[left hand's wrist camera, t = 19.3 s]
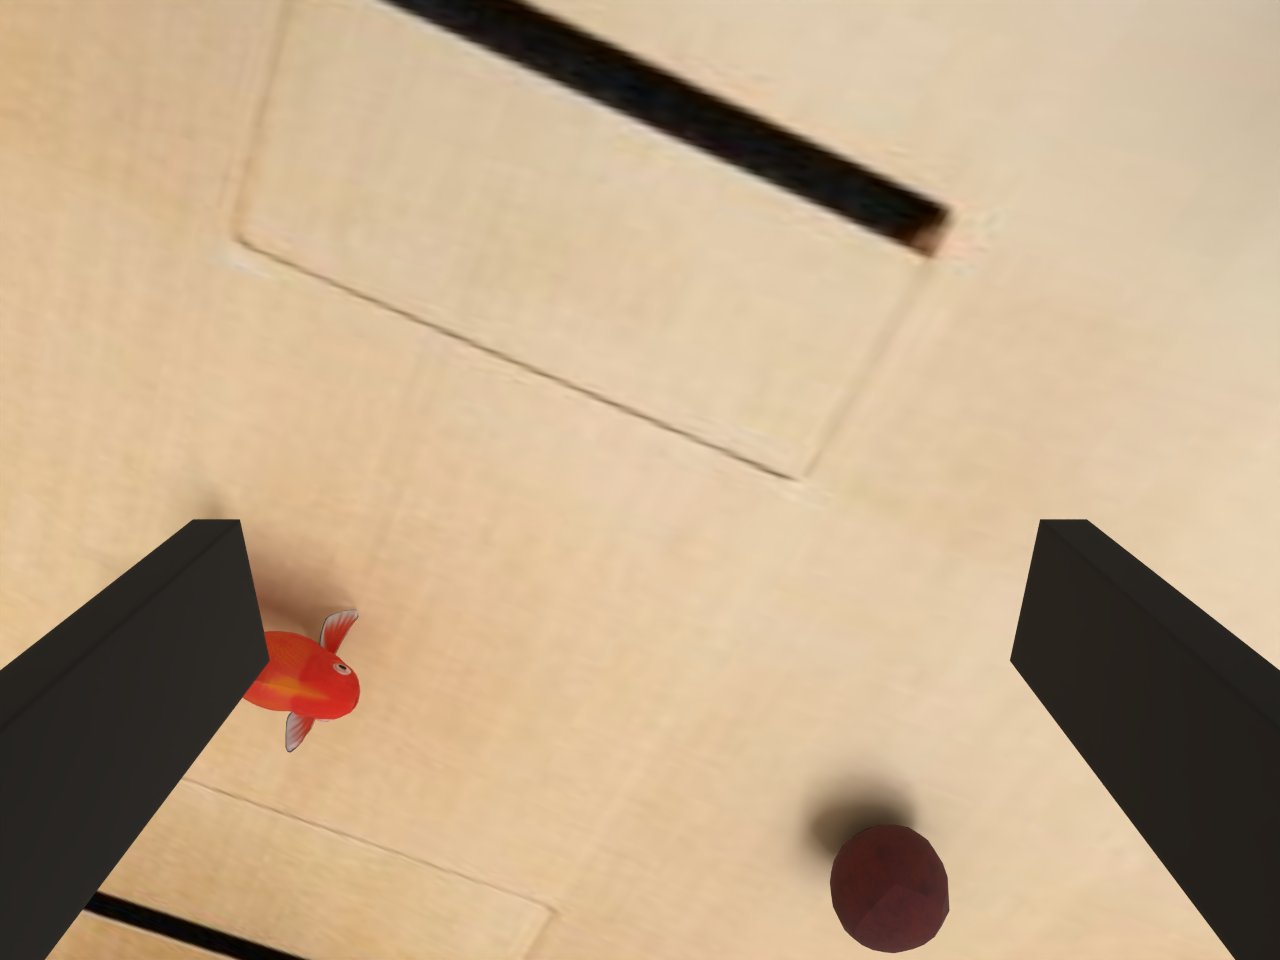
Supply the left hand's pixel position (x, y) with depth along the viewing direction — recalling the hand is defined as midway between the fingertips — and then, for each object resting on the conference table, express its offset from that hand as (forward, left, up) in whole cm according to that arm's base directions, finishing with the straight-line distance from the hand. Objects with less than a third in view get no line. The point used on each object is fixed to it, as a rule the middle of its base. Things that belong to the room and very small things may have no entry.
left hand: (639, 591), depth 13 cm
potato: (+4, +40, -29) cm, 49 cm away
